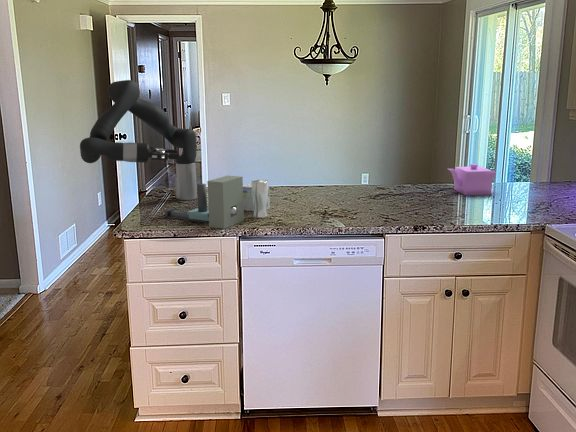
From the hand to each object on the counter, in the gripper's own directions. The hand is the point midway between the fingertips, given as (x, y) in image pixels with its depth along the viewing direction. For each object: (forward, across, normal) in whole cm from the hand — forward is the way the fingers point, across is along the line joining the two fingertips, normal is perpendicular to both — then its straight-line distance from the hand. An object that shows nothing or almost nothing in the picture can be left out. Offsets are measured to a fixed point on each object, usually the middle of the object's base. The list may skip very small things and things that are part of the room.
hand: (178, 154), depth 219 cm
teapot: (+145, +13, +14) cm, 147 cm away
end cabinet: (+19, -11, +25) cm, 33 cm away
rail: (+7, 0, +26) cm, 27 cm away
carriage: (+11, -3, +25) cm, 28 cm away
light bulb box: (+36, +9, +25) cm, 44 cm away
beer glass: (+34, -4, +24) cm, 42 cm away
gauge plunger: (+18, -10, +21) cm, 30 cm away
